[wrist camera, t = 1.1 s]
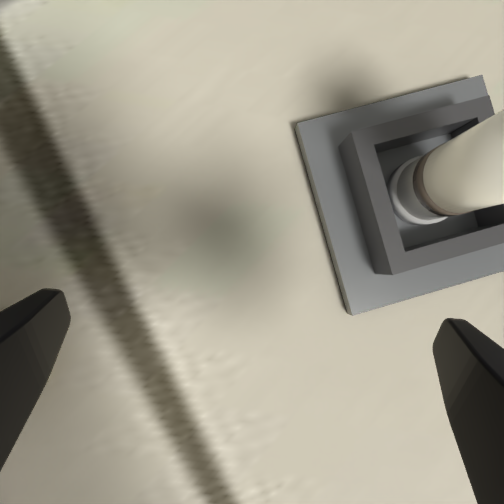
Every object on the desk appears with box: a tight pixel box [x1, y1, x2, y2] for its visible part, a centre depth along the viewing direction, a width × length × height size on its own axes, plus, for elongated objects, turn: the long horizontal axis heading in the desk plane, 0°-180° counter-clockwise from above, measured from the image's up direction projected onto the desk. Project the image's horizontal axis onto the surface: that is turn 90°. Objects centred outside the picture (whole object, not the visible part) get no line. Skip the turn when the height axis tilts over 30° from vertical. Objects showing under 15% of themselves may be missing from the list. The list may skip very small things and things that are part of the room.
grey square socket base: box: [295, 75, 504, 316], centre depth 22 cm, size 12×12×4 cm
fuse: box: [387, 109, 504, 225], centre depth 17 cm, size 4×4×12 cm
